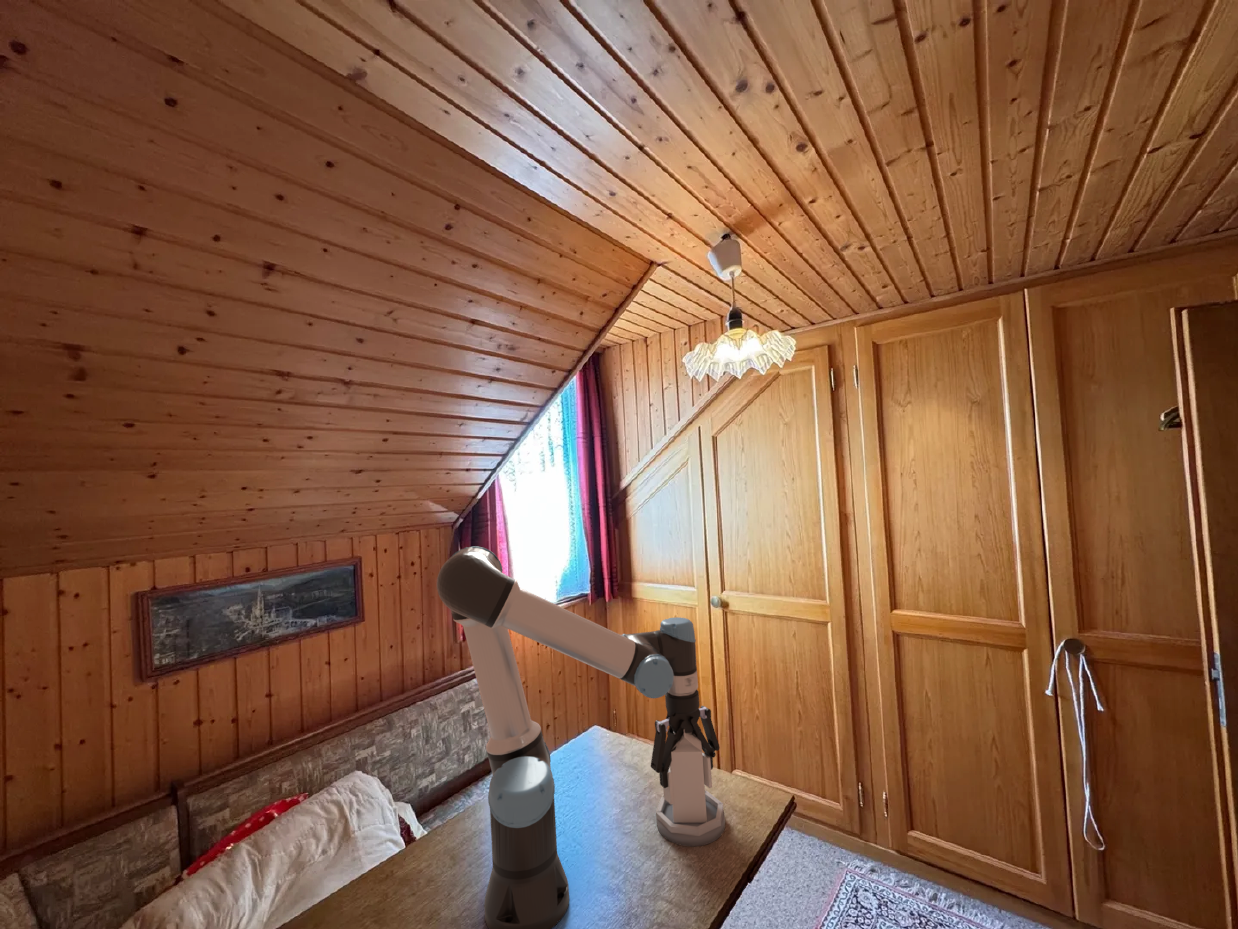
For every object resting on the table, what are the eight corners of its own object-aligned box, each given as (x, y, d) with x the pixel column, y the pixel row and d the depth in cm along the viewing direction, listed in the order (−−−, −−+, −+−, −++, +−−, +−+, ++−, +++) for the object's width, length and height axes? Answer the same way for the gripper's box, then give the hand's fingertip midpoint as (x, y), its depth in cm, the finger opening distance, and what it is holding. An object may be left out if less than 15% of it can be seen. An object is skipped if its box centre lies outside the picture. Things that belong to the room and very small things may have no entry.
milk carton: (704, 803, 116) (699, 718, 117) (707, 824, 109) (700, 732, 110) (673, 803, 117) (668, 718, 118) (673, 823, 110) (667, 733, 111)
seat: (682, 856, 103) (681, 840, 103) (643, 817, 116) (643, 802, 116) (739, 828, 110) (738, 813, 110) (697, 794, 123) (696, 780, 123)
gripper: (647, 708, 106) (654, 820, 104) (731, 683, 116) (738, 784, 115) (629, 696, 112) (636, 801, 111) (710, 673, 123) (717, 769, 122)
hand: (688, 792), depth 113 cm, fingers closed on milk carton, 10 cm apart
